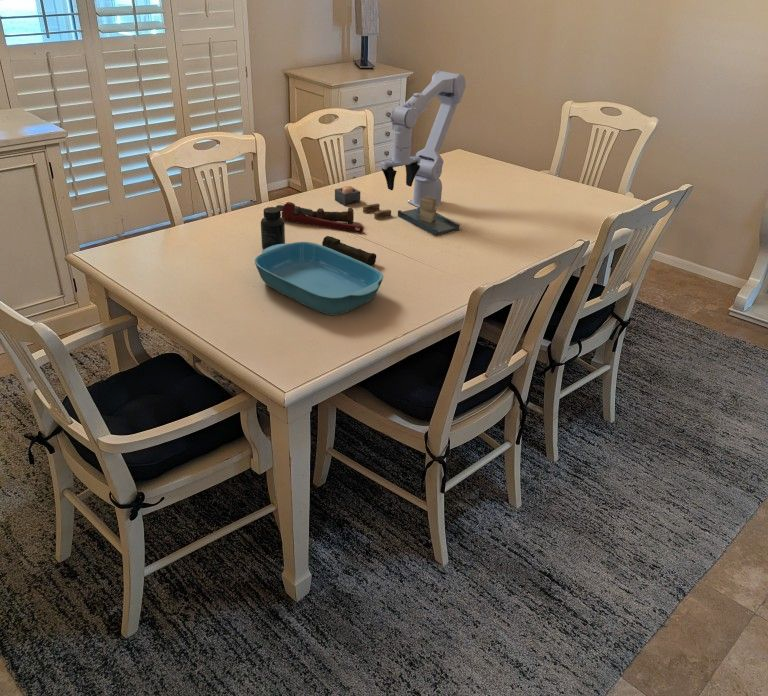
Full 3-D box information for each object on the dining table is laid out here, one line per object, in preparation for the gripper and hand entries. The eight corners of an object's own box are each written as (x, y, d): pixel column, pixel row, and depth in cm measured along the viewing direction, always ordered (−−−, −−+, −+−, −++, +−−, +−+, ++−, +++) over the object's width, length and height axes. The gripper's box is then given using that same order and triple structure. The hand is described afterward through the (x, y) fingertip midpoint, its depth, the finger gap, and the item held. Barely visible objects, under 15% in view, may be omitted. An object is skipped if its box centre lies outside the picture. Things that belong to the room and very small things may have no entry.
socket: (377, 208, 234) (377, 203, 233) (390, 216, 229) (391, 210, 228) (362, 211, 231) (363, 206, 230) (376, 219, 226) (376, 213, 225)
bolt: (307, 225, 224) (353, 227, 223) (305, 223, 219) (351, 224, 218) (308, 208, 224) (353, 209, 223) (305, 205, 219) (352, 206, 218)
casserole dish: (398, 299, 179) (400, 275, 175) (339, 330, 164) (339, 304, 160) (300, 257, 198) (300, 234, 195) (240, 281, 184) (238, 257, 180)
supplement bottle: (270, 242, 206) (268, 203, 200) (289, 246, 204) (288, 208, 198) (257, 250, 201) (255, 211, 195) (276, 255, 199) (275, 215, 192)
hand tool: (377, 265, 196) (377, 250, 194) (368, 269, 194) (368, 254, 191) (328, 246, 206) (329, 232, 204) (319, 250, 204) (319, 235, 201)
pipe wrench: (361, 236, 215) (273, 221, 221) (364, 233, 217) (276, 218, 223) (362, 216, 211) (272, 201, 218) (364, 213, 214) (276, 199, 220)
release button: (348, 196, 241) (349, 185, 239) (354, 199, 238) (354, 188, 236) (340, 198, 239) (340, 187, 237) (345, 201, 237) (346, 190, 234)
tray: (421, 210, 234) (421, 205, 233) (459, 230, 221) (460, 224, 220) (397, 216, 229) (397, 210, 228) (435, 236, 216) (436, 230, 215)
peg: (424, 216, 227) (426, 195, 223) (435, 218, 225) (437, 198, 221) (419, 219, 224) (420, 199, 220) (430, 222, 222) (432, 201, 218)
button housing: (350, 197, 243) (350, 186, 241) (360, 202, 239) (360, 191, 237) (334, 200, 240) (334, 189, 238) (344, 205, 235) (344, 194, 233)
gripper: (412, 140, 225) (409, 180, 232) (376, 145, 217) (374, 187, 224) (425, 145, 220) (422, 186, 227) (389, 151, 212) (387, 193, 220)
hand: (399, 187), depth 225 cm, fingers open, 7 cm apart
